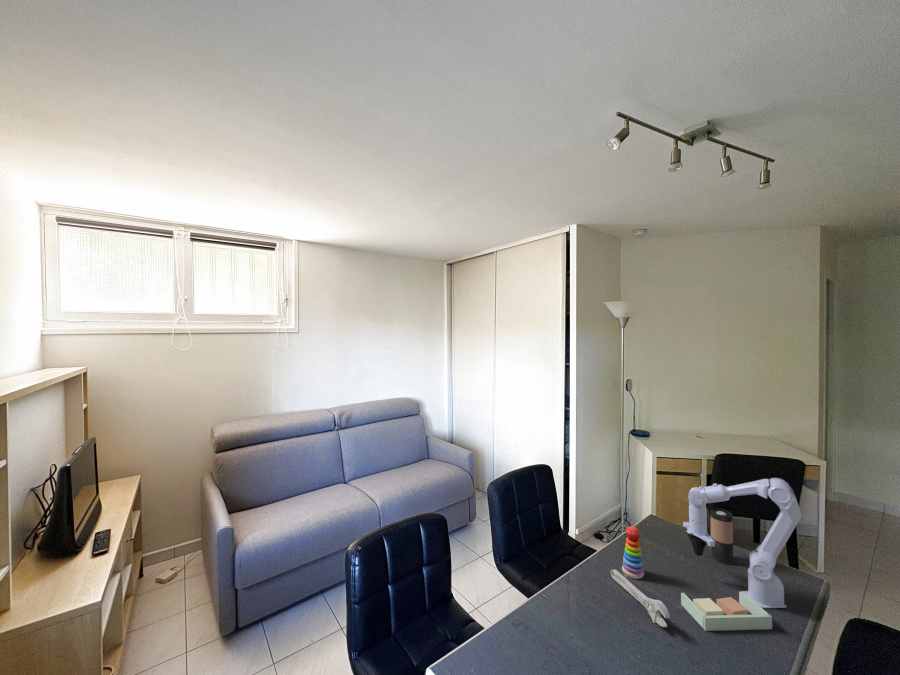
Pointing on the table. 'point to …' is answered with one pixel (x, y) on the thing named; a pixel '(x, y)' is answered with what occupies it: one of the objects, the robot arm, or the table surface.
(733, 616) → the box
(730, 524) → the travel mug
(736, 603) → the terracotta tile
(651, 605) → the wrench
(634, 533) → the stacking toy
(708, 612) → the sand tile
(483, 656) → the table surface
